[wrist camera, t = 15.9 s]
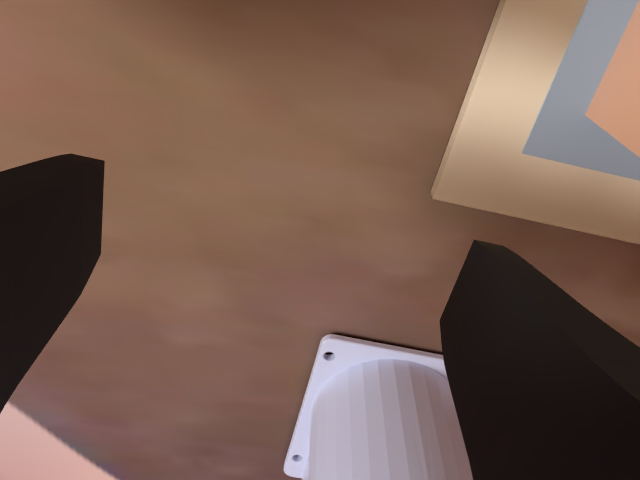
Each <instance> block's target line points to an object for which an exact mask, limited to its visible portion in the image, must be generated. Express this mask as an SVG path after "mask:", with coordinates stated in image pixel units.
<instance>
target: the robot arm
mask: <svg viewBox="0 0 640 480" xmlns="http://www.w3.org/2000/svg"><path fill="white" fill-rule="evenodd" d="M103 185H104V161H103V160H98V159H94V158H89V157H84V156H80V155H75V154H65V155H59V156H55V157H51V158H47V159H43V160H39V161H36V162H32V163H29V164H26V165H22V166H19V167H15V168H12V169H8V170H5V171H2V172H0V413H1V411H2V410H3V408H4V406H5V404H6V403H7V401H8V400H9V398H10V396H11V395H12V393H13V392H14V390H15V389H16V387H17V385H18V384H19V382H20V381H21V380H22V378H23V377H24V375H25V374H26V373H27V371H28V370H29V368H30V367H31V365H32V364H33V363H34V361H35V360H36V358H37V357H38V355H39V354H40V353H41V351H42V350H43V348H44V347H45V345H46V344H47V343H48V341H49V340H50V338H51V337H52V335H53V334H54V333H55V331H56V330H57V328H58V327H59V326H60V324H61V323H62V321H63V320H64V318H65V317H66V315H67V314H68V312H69V311H70V310H71V308H72V307H73V305H74V304H75V302H76V301H77V299H78V298H79V296H80V295H81V293H82V291H83V289H84V287H85V285H86V283H87V281H88V279H89V277H90V275H91V273H92V271H93V269H94V267H95V265H96V263H97V260H98V258H99V256H100V254H101V235H102V210H103ZM440 330H441V342H442V351H443V355H440V354H435V353H429V352H424V351H419V350H414V349H408V348H403V347H398V346H393V345H387V344H382V343H377V342H372V341H366V340H361V339H356V338H351V337H346V336H340V335H335V334H329V335H326V336H324V337H323V338H322V340H321V342H320V345H319V349H318V352H317V355H316V359H315V362H314V366H313V369H312V372H311V376H310V379H309V382H308V386H307V389H306V392H305V396H304V399H303V402H302V406H301V409H300V412H299V416H298V419H297V423H296V426H295V429H294V433H293V436H292V439H291V443H290V446H289V449H288V453H287V456H286V459H285V463H284V472H285V474H287V475H288V476H292V477H298V478H302V480H640V347H638V346H637V345H635V344H634V343H632V342H631V341H629V340H628V339H627V338H625V337H624V336H622V335H621V334H620V333H618V332H617V331H616V330H614V329H613V328H611V327H610V326H609V325H607V324H606V323H605V322H603V321H602V320H600V319H599V318H598V317H596V316H595V315H594V314H593V313H591V312H590V311H589V310H587V309H586V308H585V307H583V306H582V305H581V304H580V303H578V302H577V301H576V300H575V299H573V298H572V297H571V296H570V295H568V294H567V293H566V292H565V291H563V290H562V289H561V288H560V287H558V286H557V285H556V284H555V283H553V282H552V281H551V280H550V279H548V278H547V277H546V276H545V275H543V274H542V273H541V272H540V271H538V270H537V269H536V268H535V267H533V266H532V265H531V264H529V263H528V262H527V261H525V260H524V259H523V258H521V257H520V256H519V255H517V254H516V253H514V252H513V251H511V250H510V249H508V248H506V247H504V246H501V245H497V244H492V243H487V242H483V241H478V240H474V241H473V243H472V246H471V248H470V250H469V253H468V255H467V257H466V260H465V262H464V265H463V267H462V269H461V272H460V274H459V276H458V279H457V281H456V283H455V286H454V288H453V290H452V293H451V295H450V297H449V300H448V302H447V304H446V307H445V309H444V312H443V314H442V316H441V319H440ZM326 352H332V353H333V354H331V355H327V354H325V353H326Z"/></svg>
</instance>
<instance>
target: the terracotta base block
mask: <svg viewBox="0 0 640 480" xmlns="http://www.w3.org/2000/svg"><path fill="white" fill-rule="evenodd" d="M585 116H587V117H588V118H589V119H591V120H592V121H593V122H594V123H596V124H597V125H598V126H600V127H601V128H602V129H603V130H605V131H606V132H607V133H609V134H610V135H611V136H612V137H614V138H615V139H616V140H618V141H619V142H620V143H622V144H623V145H624V146H625V147H627V148H628V149H629V150H631V151H632V152H633V153H634V154H636V155H637V156H638V157H640V0H639V2H638V4H637V6H636V8H635V10H634V12H633V14H632V16H631V18H630V21H629V23H628V25H627V27H626V29H625V31H624V33H623V35H622V37H621V40H620V42H619V44H618V46H617V48H616V50H615V52H614V54H613V56H612V59H611V61H610V63H609V65H608V67H607V69H606V71H605V73H604V75H603V78H602V80H601V82H600V84H599V86H598V88H597V90H596V92H595V95H594V97H593V99H592V101H591V103H590V105H589V107H588V109H587V111H586V114H585Z"/></svg>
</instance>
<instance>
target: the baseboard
mask: <svg viewBox="0 0 640 480" xmlns="http://www.w3.org/2000/svg"><path fill="white" fill-rule="evenodd" d="M638 2H639V0H500V2H499V5H498V8H497V10H496V13H495V16H494V19H493V21H492V24H491V27H490V30H489V32H488V35H487V38H486V41H485V43H484V46H483V49H482V52H481V55H480V57H479V60H478V63H477V66H476V68H475V71H474V74H473V77H472V79H471V82H470V85H469V88H468V90H467V93H466V96H465V99H464V101H463V104H462V107H461V110H460V112H459V115H458V118H457V121H456V123H455V126H454V129H453V132H452V134H451V137H450V140H449V143H448V146H447V148H446V151H445V154H444V157H443V159H442V162H441V165H440V168H439V170H438V173H437V176H436V179H435V181H434V184H433V187H432V190H431V195H432V198H433V199H435V200H440V201H444V202H449V203H453V204H458V205H462V206H467V207H472V208H476V209H481V210H485V211H490V212H494V213H499V214H503V215H508V216H513V217H517V218H522V219H526V220H531V221H535V222H540V223H544V224H549V225H554V226H558V227H563V228H567V229H572V230H576V231H581V232H586V233H590V234H595V235H599V236H604V237H608V238H613V239H617V240H622V241H627V242H631V243H636V244H640V157H638V156H637V155H636V154H634V153H633V152H632V151H631V150H629V149H628V148H627V147H625V146H624V145H623V144H622V143H620V142H619V141H618V140H616V139H615V138H614V137H612V136H611V135H610V134H609V133H607V132H606V131H605V130H603V129H602V128H601V127H600V126H598V125H597V124H596V123H594V122H593V121H592V120H591V119H589V118H588V117H587V116H585V114H586V111H587V109H588V107H589V105H590V103H591V101H592V99H593V97H594V95H595V92H596V90H597V88H598V86H599V84H600V82H601V80H602V78H603V75H604V73H605V71H606V69H607V67H608V65H609V63H610V61H611V59H612V56H613V54H614V52H615V50H616V48H617V46H618V44H619V42H620V40H621V37H622V35H623V33H624V31H625V29H626V27H627V25H628V23H629V21H630V18H631V16H632V14H633V12H634V10H635V8H636V6H637V4H638Z"/></svg>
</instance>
